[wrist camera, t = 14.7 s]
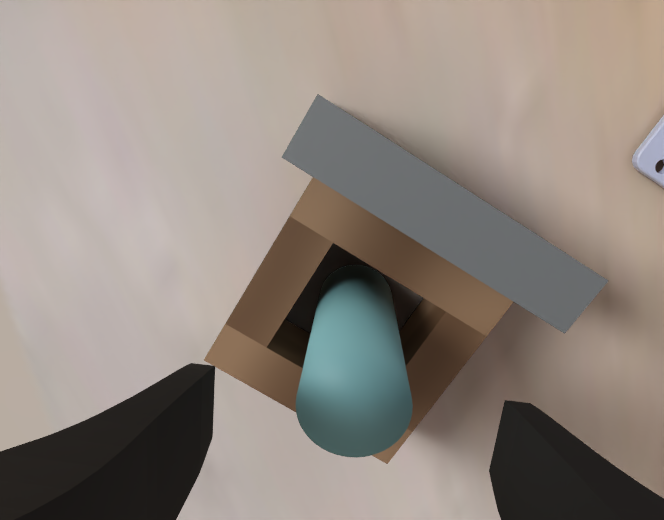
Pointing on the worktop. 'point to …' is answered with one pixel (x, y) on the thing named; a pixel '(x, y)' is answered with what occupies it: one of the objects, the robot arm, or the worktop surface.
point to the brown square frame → (384, 255)
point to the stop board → (441, 215)
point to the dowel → (354, 368)
